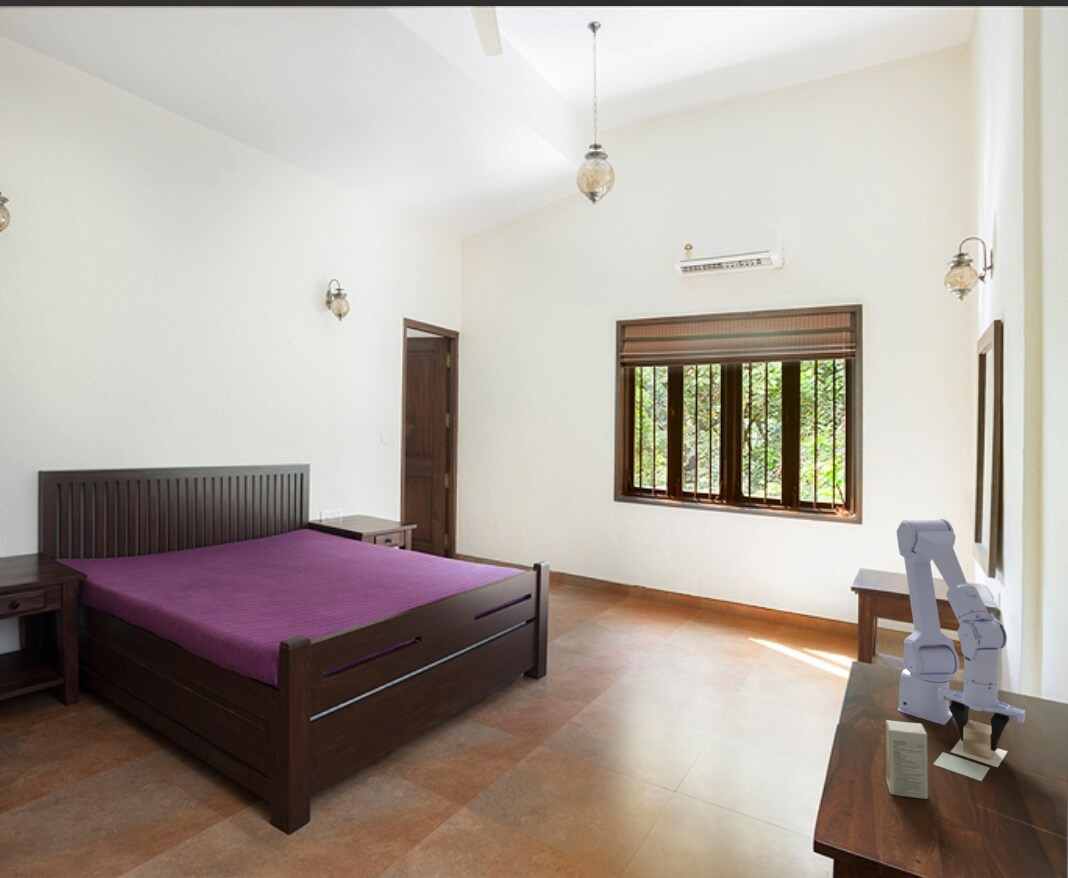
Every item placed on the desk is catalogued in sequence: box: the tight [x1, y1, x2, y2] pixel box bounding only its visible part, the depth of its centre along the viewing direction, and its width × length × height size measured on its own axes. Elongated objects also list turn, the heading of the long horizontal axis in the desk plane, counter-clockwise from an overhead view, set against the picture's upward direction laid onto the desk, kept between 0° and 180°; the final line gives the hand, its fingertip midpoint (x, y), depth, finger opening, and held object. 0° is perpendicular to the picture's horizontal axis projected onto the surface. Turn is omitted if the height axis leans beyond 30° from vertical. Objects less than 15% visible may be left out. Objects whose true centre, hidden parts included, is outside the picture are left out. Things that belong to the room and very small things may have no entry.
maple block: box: [963, 719, 995, 760], centre depth 133 cm, size 4×4×5 cm
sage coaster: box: [933, 752, 991, 782], centre depth 128 cm, size 8×6×1 cm
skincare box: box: [885, 719, 929, 800], centre depth 121 cm, size 6×4×12 cm
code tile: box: [950, 738, 1008, 768], centre depth 133 cm, size 8×8×1 cm
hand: (979, 744), depth 133 cm, fingers closed on maple block, 4 cm apart
